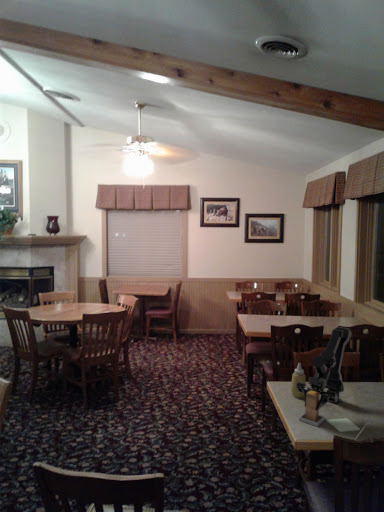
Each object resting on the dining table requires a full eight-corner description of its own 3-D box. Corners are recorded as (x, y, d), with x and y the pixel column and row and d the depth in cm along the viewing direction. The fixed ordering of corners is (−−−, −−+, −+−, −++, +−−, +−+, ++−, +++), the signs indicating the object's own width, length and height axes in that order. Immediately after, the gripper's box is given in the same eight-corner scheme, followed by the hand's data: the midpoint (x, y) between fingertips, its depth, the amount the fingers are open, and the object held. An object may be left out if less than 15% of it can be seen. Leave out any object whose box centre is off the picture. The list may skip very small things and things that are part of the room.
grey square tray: (306, 415, 185) (306, 411, 185) (324, 420, 179) (324, 416, 179) (299, 421, 178) (299, 417, 178) (317, 427, 173) (317, 423, 173)
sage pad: (327, 421, 179) (327, 419, 179) (346, 420, 181) (346, 418, 181) (339, 432, 169) (339, 430, 169) (359, 431, 171) (360, 428, 171)
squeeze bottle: (288, 393, 210) (289, 360, 209) (302, 393, 211) (303, 360, 209) (293, 399, 202) (294, 366, 201) (308, 399, 203) (309, 366, 201)
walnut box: (308, 416, 182) (310, 389, 181) (318, 420, 179) (319, 392, 178) (305, 420, 178) (306, 392, 178) (314, 423, 176) (315, 395, 175)
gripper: (298, 365, 186) (287, 394, 178) (337, 374, 175) (327, 406, 167) (304, 376, 193) (293, 405, 185) (342, 386, 181) (332, 417, 173)
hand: (311, 408), depth 177 cm, fingers open, 5 cm apart
